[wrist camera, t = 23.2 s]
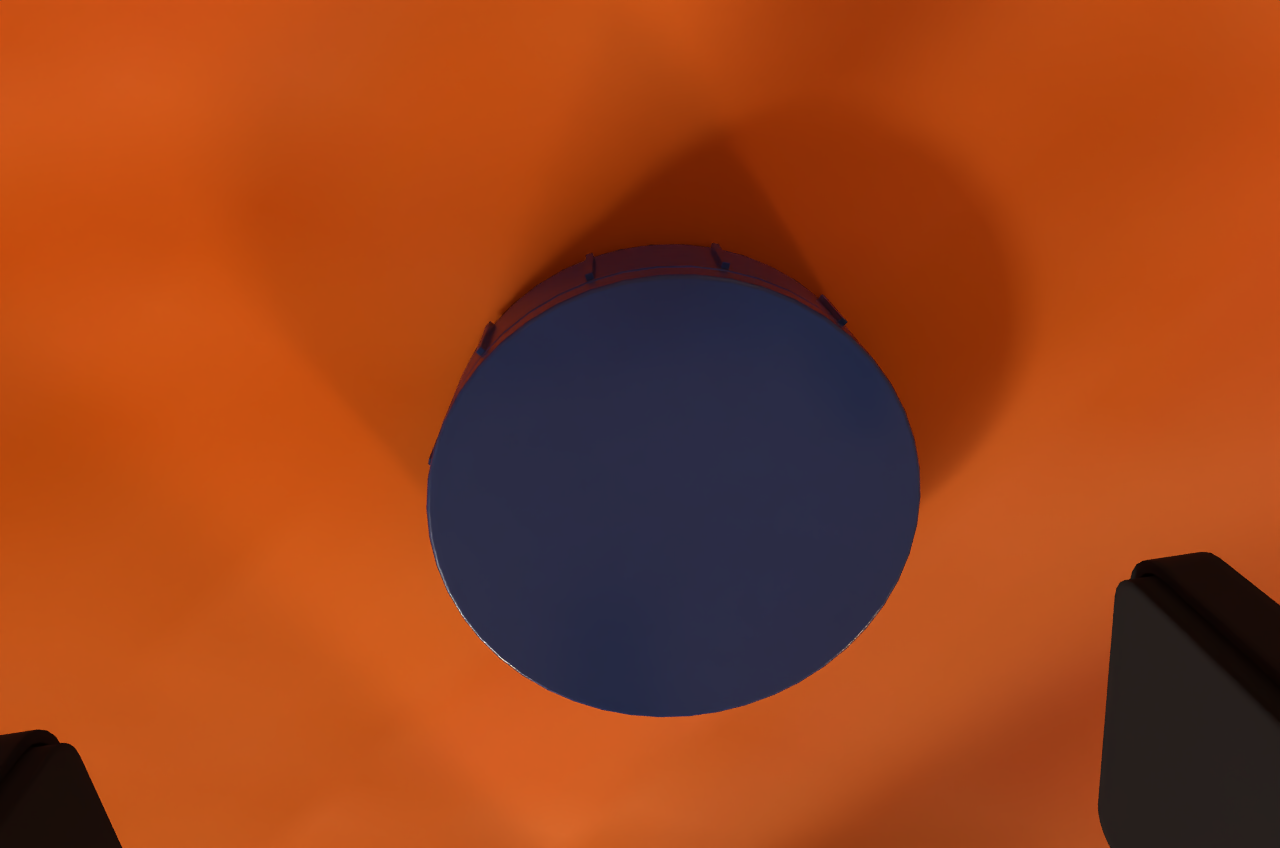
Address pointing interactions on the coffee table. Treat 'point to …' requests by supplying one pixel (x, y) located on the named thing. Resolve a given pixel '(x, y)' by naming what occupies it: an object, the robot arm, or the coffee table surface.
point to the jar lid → (671, 483)
